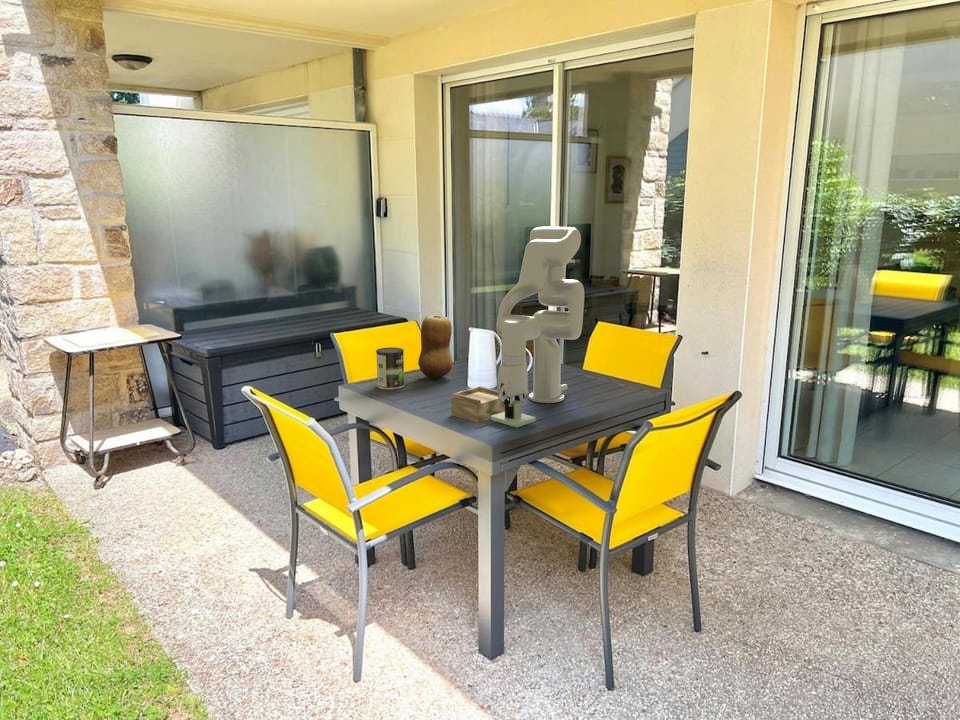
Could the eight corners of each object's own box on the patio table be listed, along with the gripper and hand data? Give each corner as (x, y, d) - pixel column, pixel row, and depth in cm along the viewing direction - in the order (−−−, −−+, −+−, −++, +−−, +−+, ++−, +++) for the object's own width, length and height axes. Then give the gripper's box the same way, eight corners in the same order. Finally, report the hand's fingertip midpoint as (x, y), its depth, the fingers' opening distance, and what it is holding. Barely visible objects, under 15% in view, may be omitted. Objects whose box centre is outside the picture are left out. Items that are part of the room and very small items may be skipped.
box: (481, 406, 242) (481, 385, 240) (506, 413, 234) (507, 392, 232) (451, 414, 232) (450, 393, 230) (477, 422, 224) (477, 401, 222)
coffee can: (408, 383, 271) (407, 347, 268) (398, 390, 262) (397, 353, 258) (383, 382, 274) (382, 346, 271) (372, 388, 264) (371, 351, 261)
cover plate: (509, 413, 229) (509, 395, 228) (535, 420, 222) (536, 401, 220) (490, 419, 223) (490, 400, 222) (516, 427, 215) (516, 407, 214)
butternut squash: (451, 382, 273) (451, 318, 267) (417, 382, 273) (415, 318, 267) (453, 373, 286) (452, 313, 281) (420, 374, 286) (418, 313, 281)
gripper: (521, 353, 226) (521, 408, 230) (486, 362, 215) (486, 419, 219) (540, 357, 221) (538, 413, 225) (504, 366, 210) (504, 425, 214)
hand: (513, 416), depth 222 cm, fingers closed on cover plate, 2 cm apart
